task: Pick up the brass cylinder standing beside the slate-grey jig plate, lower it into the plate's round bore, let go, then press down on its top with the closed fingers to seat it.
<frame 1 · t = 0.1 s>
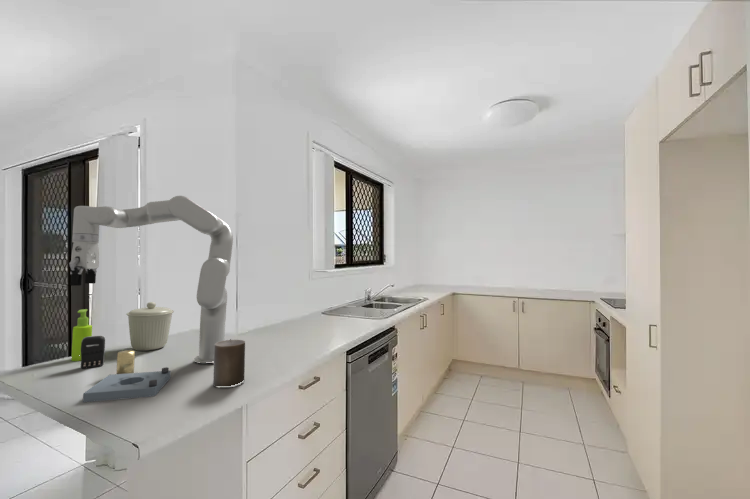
hand: (83, 284, 125), 31 cm above the counter, tool pointing down, fingers open, 9 cm apart
canister: (149, 348, 152), on the counter
brass cylinder: (125, 374, 118), on the counter
battery charger: (92, 367, 125), on the counter
jig: (130, 388, 106), on the counter
pillar candle: (228, 383, 112), on the counter
soap dispenser: (80, 359, 134), on the counter
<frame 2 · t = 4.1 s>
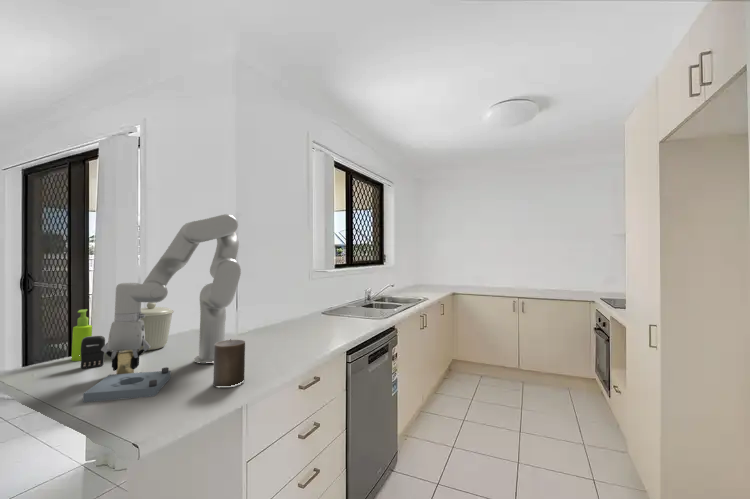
hand: (125, 368, 118), 2 cm above the counter, tool pointing down, fingers closed on brass cylinder, 5 cm apart
brass cylinder: (125, 374, 118), on the counter, touching gripper
everything else where it was.
when the fingers open (4 cm above the counter, at t = 9.2 s): brass cylinder drops 1 cm, resting in jig.
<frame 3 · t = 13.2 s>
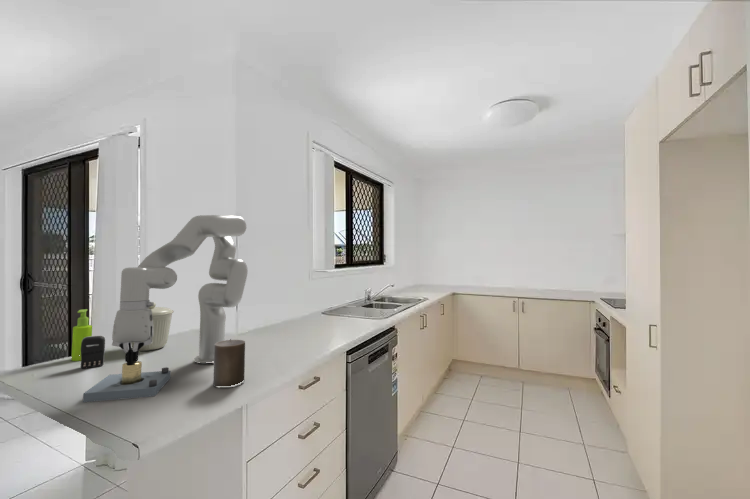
hand: (131, 363, 106), 8 cm above the counter, tool pointing down, fingers closed
brass cylinder: (131, 388, 106), resting in jig, touching gripper
everything else where it was.
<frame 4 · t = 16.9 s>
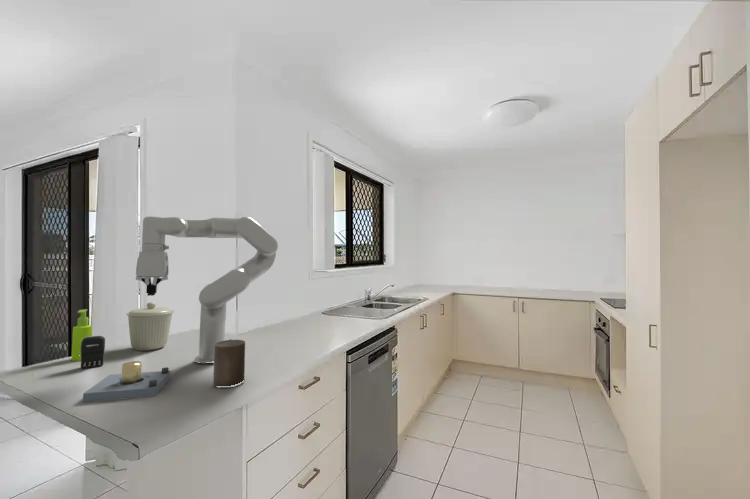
hand: (151, 295, 129), 27 cm above the counter, tool pointing down, fingers closed
brass cylinder: (130, 388, 106), resting in jig
everything else where it was.
at the end: brass cylinder 0.0 cm off-centre on the jig, point 0.0 cm above the jig's base; brass cylinder tilted 0°; the gripper is holding nothing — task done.
